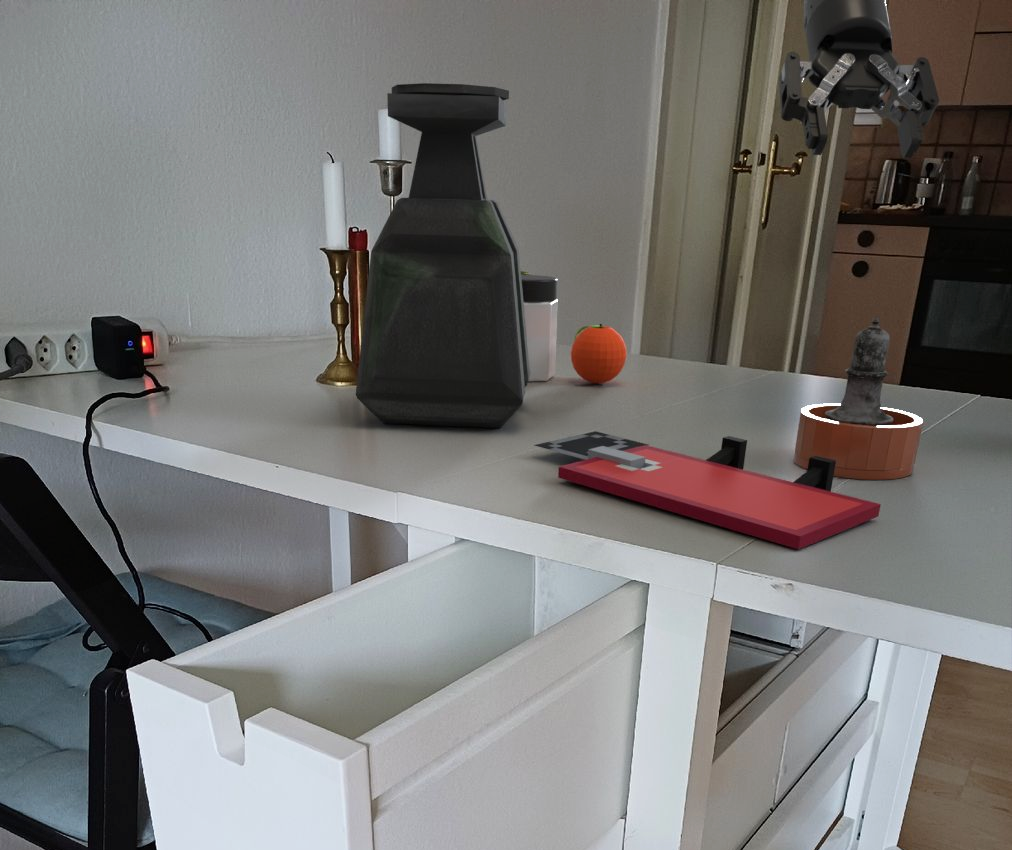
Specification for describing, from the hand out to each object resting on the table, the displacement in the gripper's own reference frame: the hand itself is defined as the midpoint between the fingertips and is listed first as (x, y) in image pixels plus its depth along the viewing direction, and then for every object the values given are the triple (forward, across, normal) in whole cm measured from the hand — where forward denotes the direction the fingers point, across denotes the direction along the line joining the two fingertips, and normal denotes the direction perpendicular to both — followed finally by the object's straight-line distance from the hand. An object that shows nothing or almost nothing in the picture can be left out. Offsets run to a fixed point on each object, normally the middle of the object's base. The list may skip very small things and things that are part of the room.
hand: (866, 149), depth 93 cm
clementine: (-1, -20, +38) cm, 43 cm away
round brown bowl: (+28, -2, +8) cm, 29 cm away
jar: (-3, -29, +40) cm, 50 cm away
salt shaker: (+28, -2, +8) cm, 29 cm away
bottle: (+15, -38, +22) cm, 47 cm away
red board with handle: (+34, -18, +2) cm, 39 cm away
